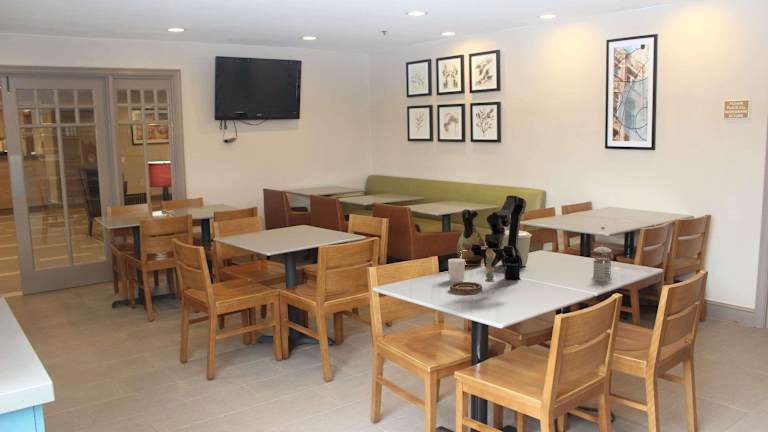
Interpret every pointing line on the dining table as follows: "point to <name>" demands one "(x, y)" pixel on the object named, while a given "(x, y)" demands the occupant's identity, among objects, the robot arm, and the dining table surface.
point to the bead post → (489, 265)
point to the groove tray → (465, 288)
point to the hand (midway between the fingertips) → (488, 266)
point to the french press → (602, 264)
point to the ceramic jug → (469, 239)
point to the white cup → (456, 269)
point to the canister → (520, 244)
